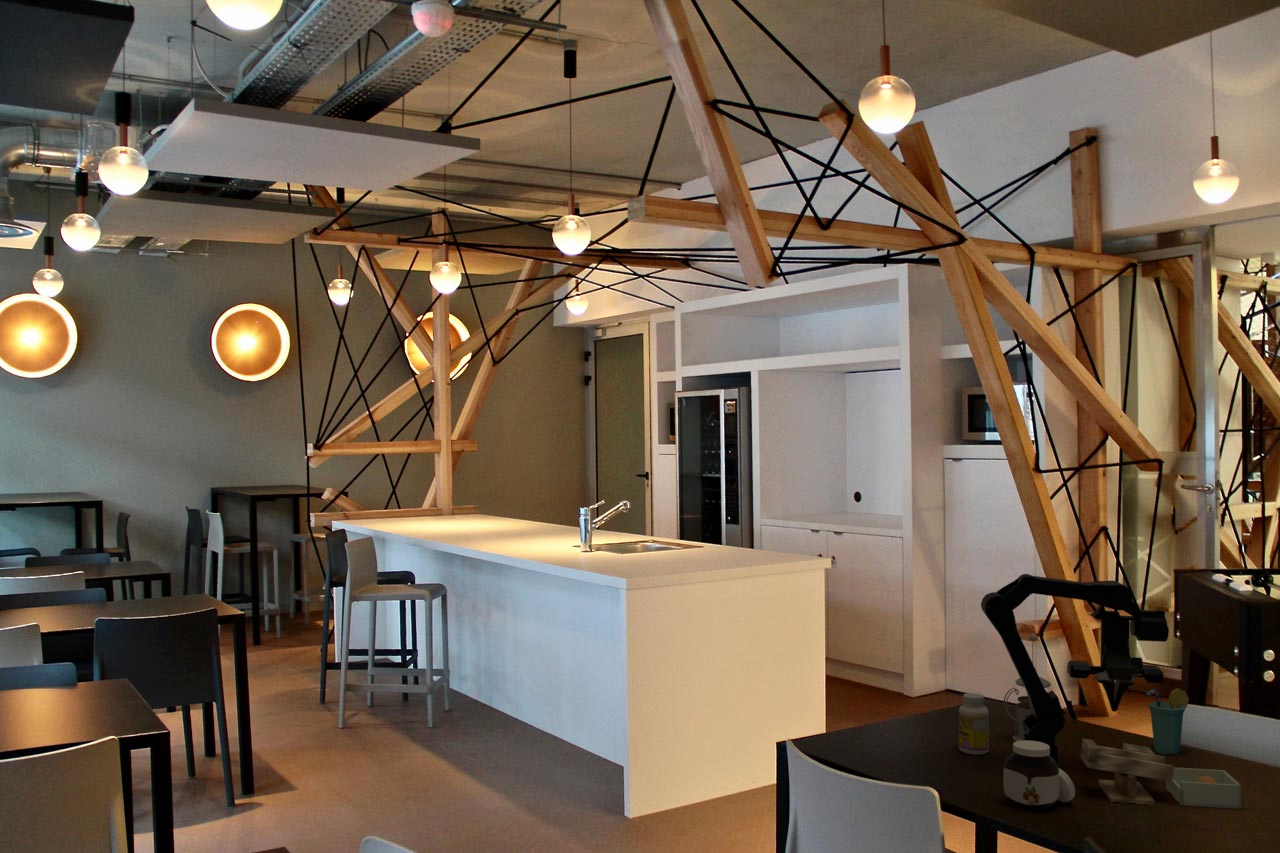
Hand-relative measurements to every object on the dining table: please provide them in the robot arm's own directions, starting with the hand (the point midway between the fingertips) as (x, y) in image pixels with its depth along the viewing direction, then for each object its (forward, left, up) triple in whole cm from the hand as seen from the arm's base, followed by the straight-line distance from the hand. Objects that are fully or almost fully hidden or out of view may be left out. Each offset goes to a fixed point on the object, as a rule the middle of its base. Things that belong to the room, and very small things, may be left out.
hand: (1114, 711), depth 237 cm
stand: (-2, -17, -13) cm, 22 cm away
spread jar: (-20, -26, -13) cm, 35 cm away
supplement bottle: (-29, +8, -13) cm, 32 cm away
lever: (-2, -12, -7) cm, 15 cm away
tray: (+13, -17, -13) cm, 25 cm away
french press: (-15, +20, -13) cm, 28 cm away
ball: (+14, -17, -10) cm, 24 cm away
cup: (+14, +16, -13) cm, 25 cm away
